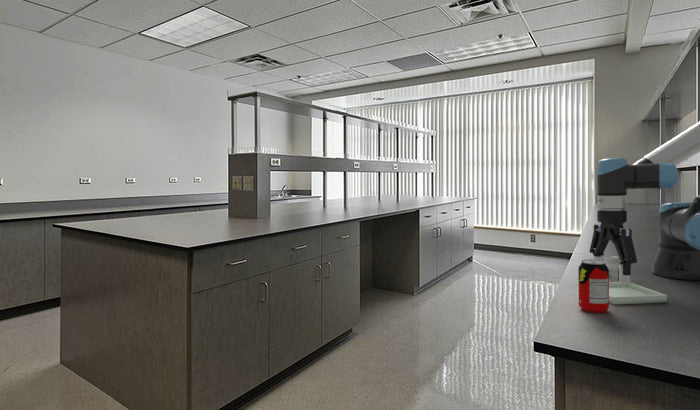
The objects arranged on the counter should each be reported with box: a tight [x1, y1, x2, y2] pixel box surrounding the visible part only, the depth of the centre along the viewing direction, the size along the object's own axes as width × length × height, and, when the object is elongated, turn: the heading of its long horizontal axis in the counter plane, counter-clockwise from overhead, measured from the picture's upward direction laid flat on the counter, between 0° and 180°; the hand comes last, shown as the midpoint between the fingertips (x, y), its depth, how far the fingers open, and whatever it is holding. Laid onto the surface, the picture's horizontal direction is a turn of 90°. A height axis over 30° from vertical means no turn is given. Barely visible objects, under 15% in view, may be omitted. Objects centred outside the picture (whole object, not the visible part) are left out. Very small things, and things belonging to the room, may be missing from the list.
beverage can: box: [578, 259, 610, 314], centre depth 97 cm, size 6×6×12 cm
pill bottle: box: [604, 255, 619, 282], centre depth 122 cm, size 4×4×8 cm
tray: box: [609, 281, 668, 305], centre depth 108 cm, size 14×14×2 cm
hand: (611, 281), depth 122 cm, fingers open, 11 cm apart
